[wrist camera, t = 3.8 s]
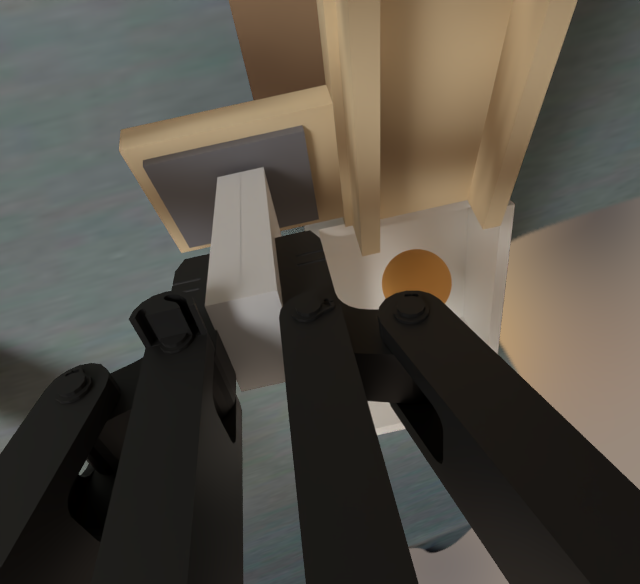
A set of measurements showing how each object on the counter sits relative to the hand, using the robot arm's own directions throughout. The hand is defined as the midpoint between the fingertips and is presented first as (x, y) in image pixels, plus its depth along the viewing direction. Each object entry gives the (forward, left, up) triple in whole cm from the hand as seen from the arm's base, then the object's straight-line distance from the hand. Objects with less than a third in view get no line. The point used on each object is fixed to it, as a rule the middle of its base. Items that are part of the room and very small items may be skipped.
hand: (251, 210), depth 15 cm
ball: (+2, +9, -3) cm, 9 cm away
